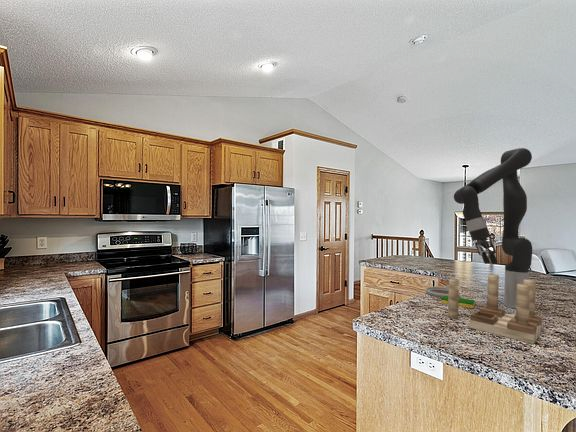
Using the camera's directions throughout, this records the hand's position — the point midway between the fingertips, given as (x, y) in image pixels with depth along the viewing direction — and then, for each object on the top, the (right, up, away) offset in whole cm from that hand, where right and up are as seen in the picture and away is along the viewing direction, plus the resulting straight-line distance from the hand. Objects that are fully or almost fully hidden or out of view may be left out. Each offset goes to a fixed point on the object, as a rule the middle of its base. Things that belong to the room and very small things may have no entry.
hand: (491, 263), depth 141 cm
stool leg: (-20, -22, -6) cm, 31 cm away
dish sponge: (-7, -22, +14) cm, 28 cm away
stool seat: (-6, -22, -18) cm, 29 cm away
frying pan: (-3, -22, +36) cm, 42 cm away
